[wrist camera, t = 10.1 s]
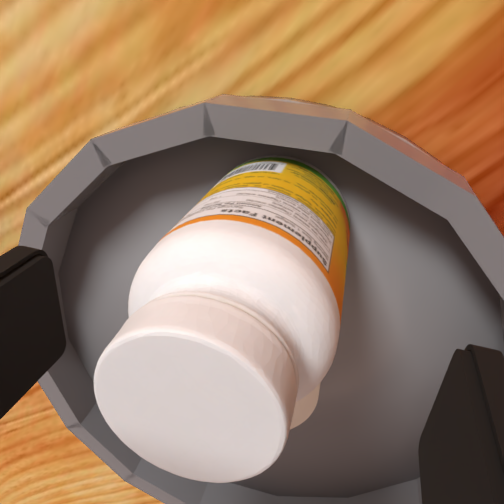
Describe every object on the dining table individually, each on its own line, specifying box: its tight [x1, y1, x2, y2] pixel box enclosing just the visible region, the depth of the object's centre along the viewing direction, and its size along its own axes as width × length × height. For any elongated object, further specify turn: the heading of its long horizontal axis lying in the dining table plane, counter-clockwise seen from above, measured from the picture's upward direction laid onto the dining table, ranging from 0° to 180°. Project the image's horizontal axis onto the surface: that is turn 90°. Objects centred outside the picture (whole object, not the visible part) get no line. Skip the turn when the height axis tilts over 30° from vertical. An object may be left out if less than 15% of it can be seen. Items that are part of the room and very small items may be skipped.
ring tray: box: [18, 94, 504, 504], centre depth 19 cm, size 22×22×3 cm
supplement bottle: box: [94, 155, 350, 483], centre depth 12 cm, size 5×5×10 cm
